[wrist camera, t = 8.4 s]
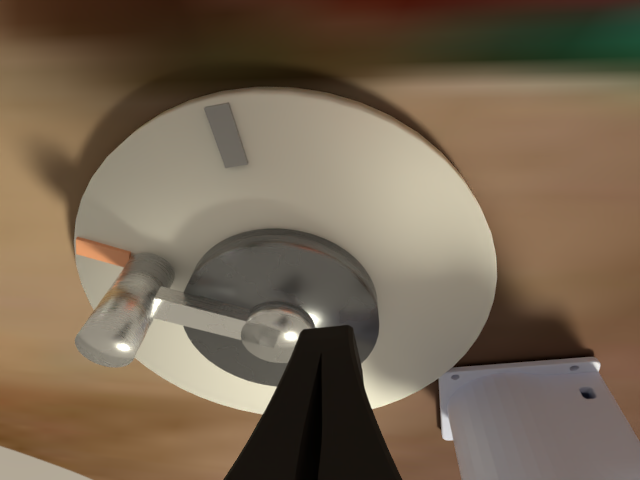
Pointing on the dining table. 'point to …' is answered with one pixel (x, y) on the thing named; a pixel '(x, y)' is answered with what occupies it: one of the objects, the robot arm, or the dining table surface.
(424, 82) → the dining table surface
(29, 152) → the dining table surface
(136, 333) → the dial
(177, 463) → the dining table surface
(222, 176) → the dial plate
